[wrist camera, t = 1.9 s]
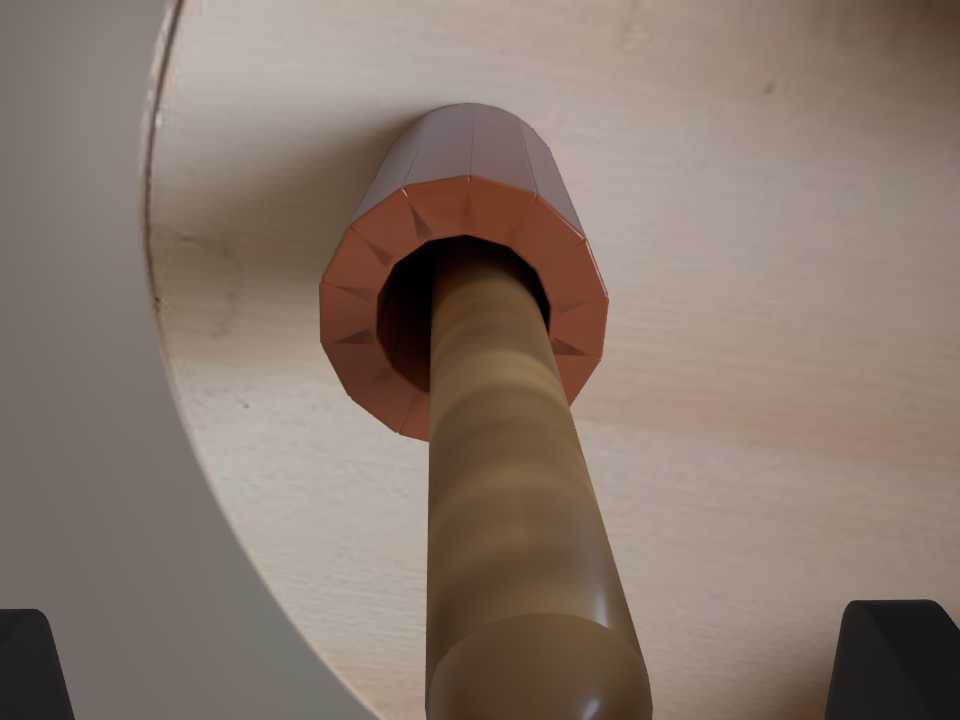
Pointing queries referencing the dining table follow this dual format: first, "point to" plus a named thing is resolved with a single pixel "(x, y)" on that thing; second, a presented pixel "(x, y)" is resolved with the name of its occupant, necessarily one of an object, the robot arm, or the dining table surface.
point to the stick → (514, 516)
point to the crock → (443, 214)
